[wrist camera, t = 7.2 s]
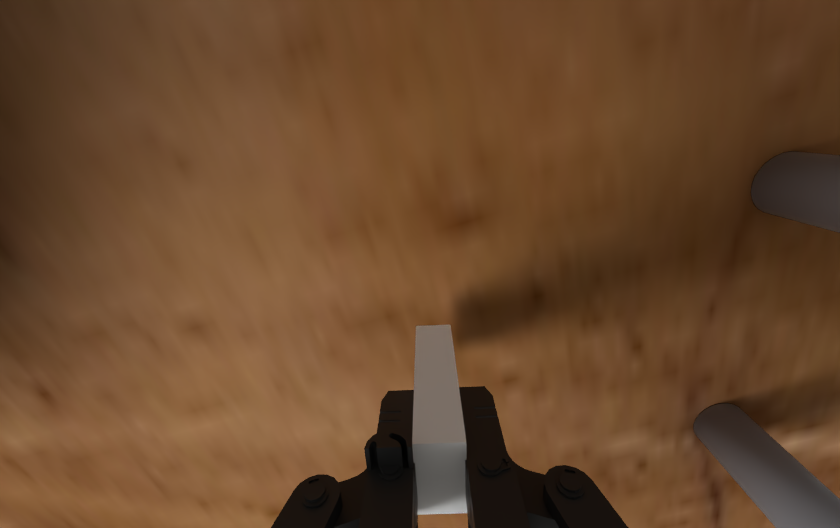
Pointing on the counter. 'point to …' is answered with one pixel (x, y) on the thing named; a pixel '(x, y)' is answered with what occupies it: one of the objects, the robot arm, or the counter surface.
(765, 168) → the post
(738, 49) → the counter surface
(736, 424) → the post
